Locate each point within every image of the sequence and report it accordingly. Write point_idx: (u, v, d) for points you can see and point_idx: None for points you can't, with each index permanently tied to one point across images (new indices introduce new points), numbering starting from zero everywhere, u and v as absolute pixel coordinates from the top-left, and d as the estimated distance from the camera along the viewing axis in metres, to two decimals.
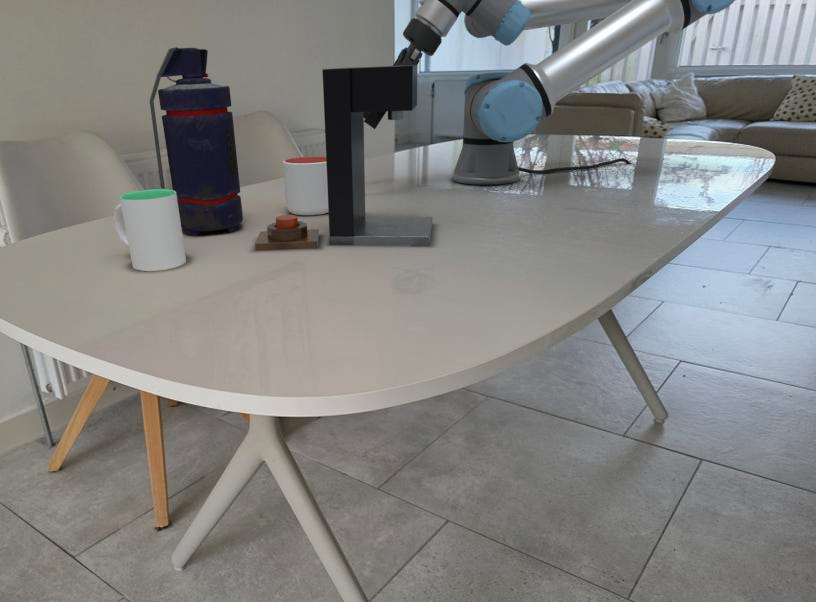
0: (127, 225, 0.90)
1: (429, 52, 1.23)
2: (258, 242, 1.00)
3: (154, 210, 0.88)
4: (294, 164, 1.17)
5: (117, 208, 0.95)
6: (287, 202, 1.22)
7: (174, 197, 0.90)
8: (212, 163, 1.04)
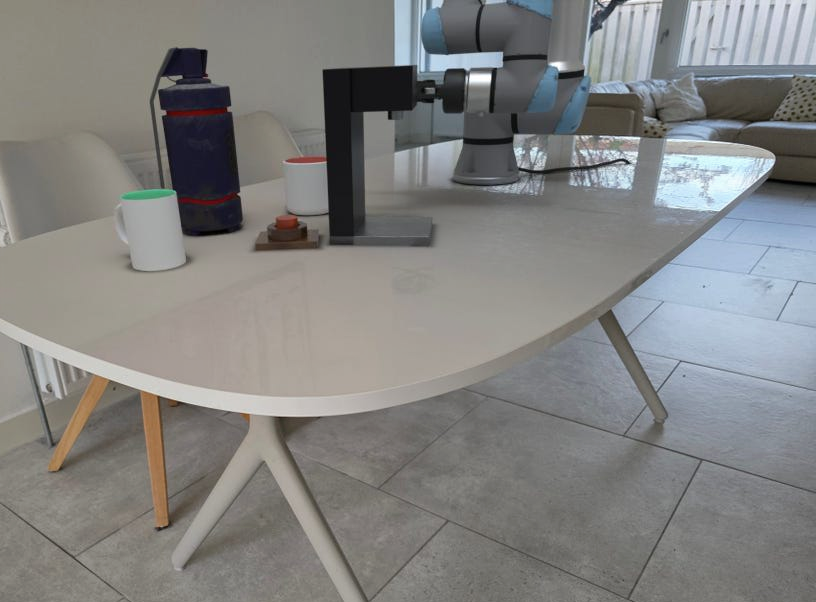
0: (127, 225, 0.90)
1: None
2: (258, 242, 1.00)
3: (154, 210, 0.88)
4: (294, 164, 1.17)
5: (117, 208, 0.95)
6: (287, 202, 1.22)
7: (174, 197, 0.90)
8: (212, 163, 1.04)
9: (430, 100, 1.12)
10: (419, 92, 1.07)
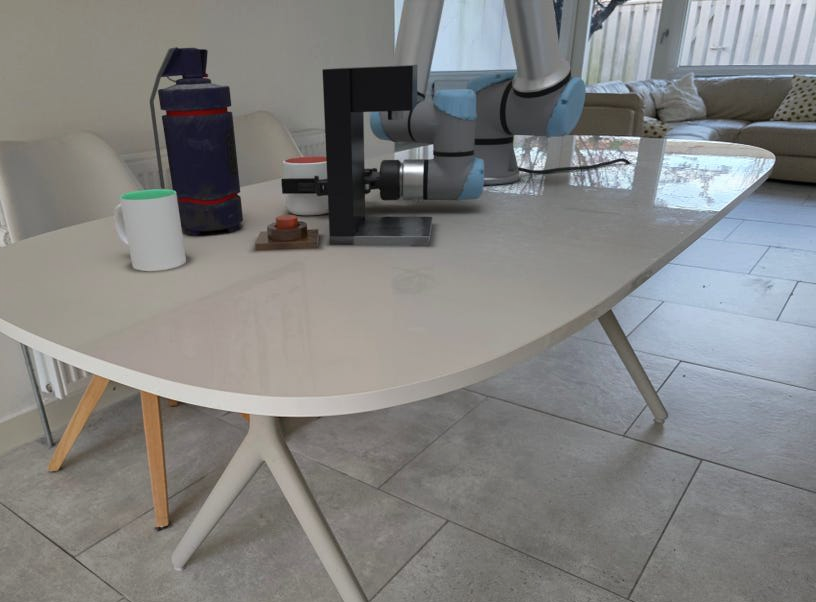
0: (127, 225, 0.90)
1: None
2: (258, 242, 1.00)
3: (154, 210, 0.88)
4: (294, 164, 1.17)
5: (117, 208, 0.95)
6: (287, 202, 1.22)
7: (174, 197, 0.90)
8: (212, 163, 1.04)
9: None
10: None
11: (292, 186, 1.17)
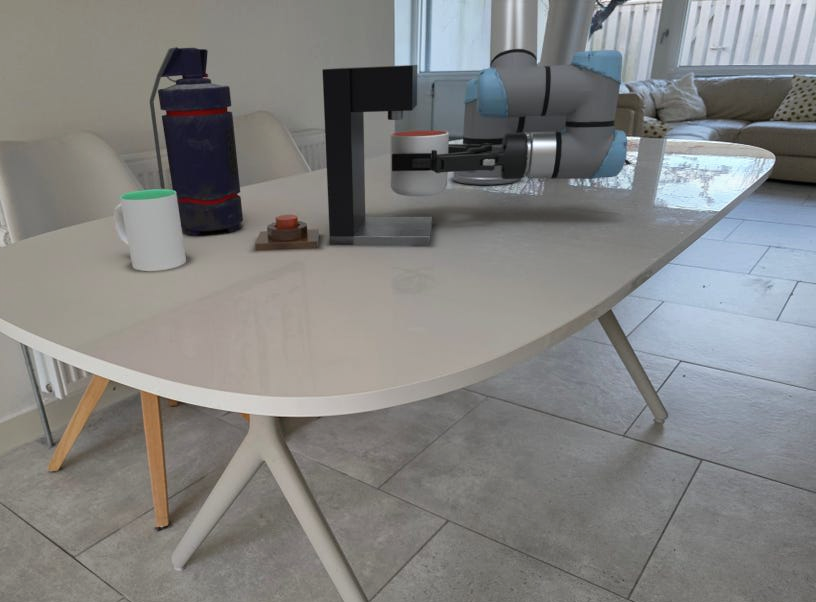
0: (127, 225, 0.90)
1: None
2: (258, 242, 1.00)
3: (154, 210, 0.88)
4: (407, 137, 1.03)
5: (117, 208, 0.95)
6: (394, 181, 1.08)
7: (174, 197, 0.90)
8: (212, 163, 1.04)
9: None
10: (477, 164, 1.01)
11: (404, 162, 1.04)
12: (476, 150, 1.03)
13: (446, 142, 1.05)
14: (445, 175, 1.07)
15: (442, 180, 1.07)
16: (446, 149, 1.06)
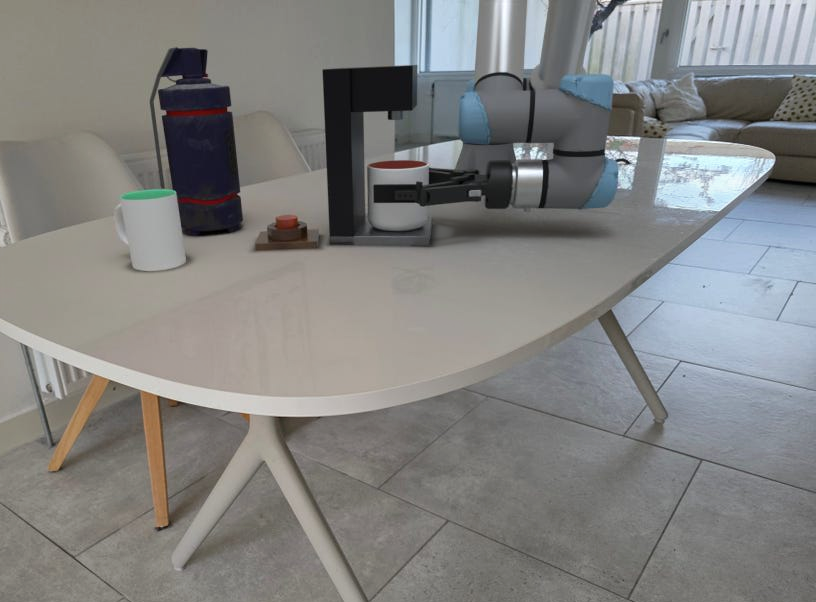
0: (127, 225, 0.90)
1: None
2: (258, 242, 1.00)
3: (154, 210, 0.88)
4: (384, 170, 0.97)
5: (117, 208, 0.95)
6: (371, 215, 1.02)
7: (174, 197, 0.90)
8: (212, 163, 1.04)
9: None
10: (464, 195, 0.94)
11: (386, 194, 0.96)
12: (460, 179, 0.97)
13: (426, 174, 0.99)
14: (425, 209, 1.01)
15: (422, 214, 1.01)
16: (426, 181, 0.99)
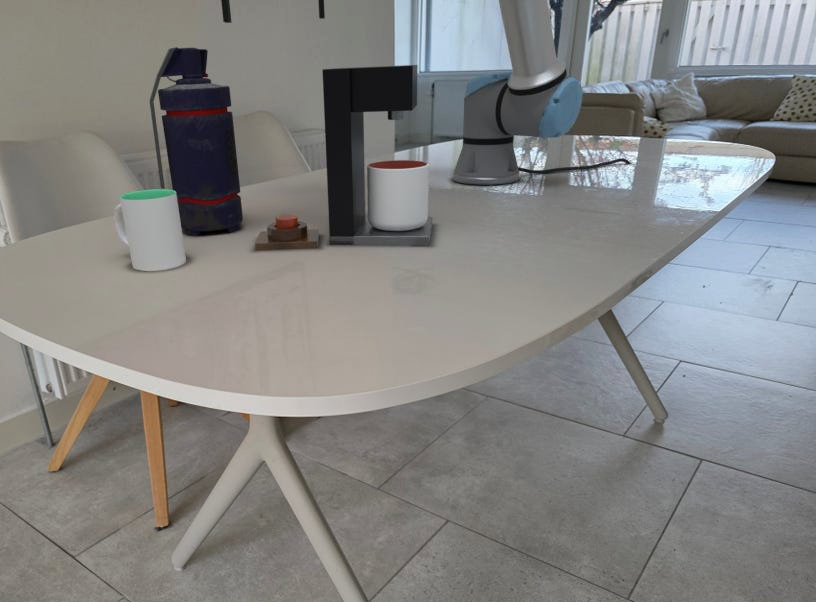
0: (127, 225, 0.90)
1: None
2: (258, 242, 1.00)
3: (154, 210, 0.88)
4: (384, 170, 0.97)
5: (117, 208, 0.95)
6: (371, 215, 1.02)
7: (174, 197, 0.90)
8: (212, 163, 1.04)
9: None
10: None
11: None
12: None
13: (426, 174, 0.99)
14: (425, 209, 1.01)
15: (422, 214, 1.01)
16: (426, 181, 0.99)
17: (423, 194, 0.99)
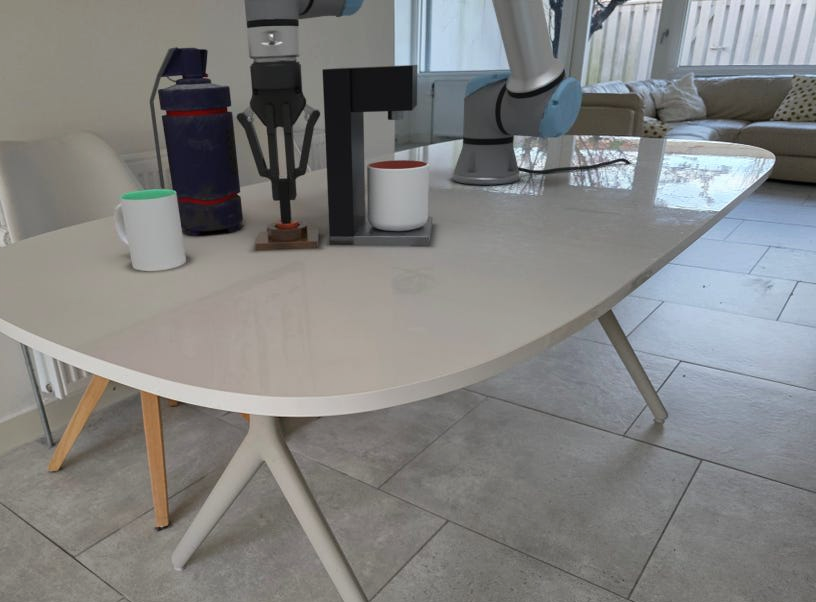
0: (127, 225, 0.90)
1: None
2: (258, 242, 1.00)
3: (154, 210, 0.88)
4: (384, 170, 0.97)
5: (117, 208, 0.95)
6: (371, 215, 1.02)
7: (174, 197, 0.90)
8: (212, 163, 1.04)
9: (265, 106, 0.93)
10: None
11: None
12: None
13: (426, 174, 0.99)
14: (425, 209, 1.01)
15: (422, 214, 1.01)
16: (426, 181, 0.99)
17: (423, 194, 0.99)
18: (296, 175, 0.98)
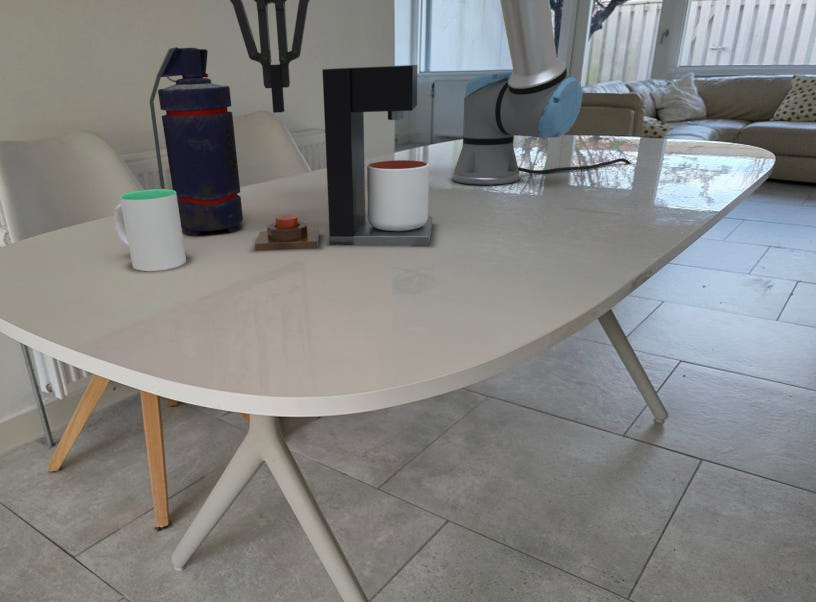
0: (127, 225, 0.90)
1: None
2: (258, 242, 1.00)
3: (154, 210, 0.88)
4: (384, 170, 0.97)
5: (117, 208, 0.95)
6: (371, 215, 1.02)
7: (174, 197, 0.90)
8: (212, 163, 1.04)
9: None
10: None
11: None
12: None
13: (426, 174, 0.99)
14: (425, 209, 1.01)
15: (422, 214, 1.01)
16: (426, 181, 0.99)
17: (423, 194, 0.99)
18: (289, 58, 0.91)
